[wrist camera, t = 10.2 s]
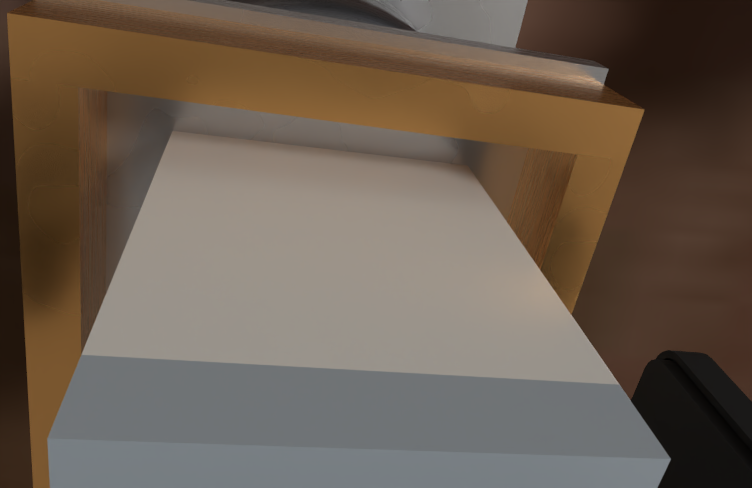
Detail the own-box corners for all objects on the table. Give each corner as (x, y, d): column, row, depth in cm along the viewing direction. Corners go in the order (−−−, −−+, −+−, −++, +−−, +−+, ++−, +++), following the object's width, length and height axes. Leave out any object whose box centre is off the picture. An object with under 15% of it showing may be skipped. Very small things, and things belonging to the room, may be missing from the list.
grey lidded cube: (413, 391, 14) (519, 776, 8) (162, 378, 13) (66, 805, 7) (467, 165, 12) (671, 459, 6) (172, 130, 11) (47, 439, 5)
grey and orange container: (435, 293, 25) (550, 582, 15) (90, 263, 23) (-62, 581, 12) (523, -57, 20) (795, 9, 10) (88, -142, 18) (-177, -179, 7)
